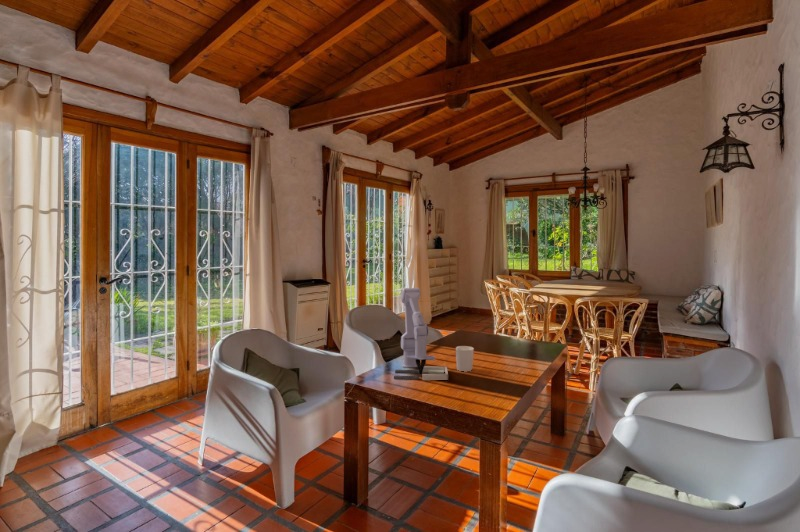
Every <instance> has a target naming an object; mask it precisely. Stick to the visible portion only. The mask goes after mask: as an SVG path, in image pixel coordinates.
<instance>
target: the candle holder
mask: <svg viewBox="0 0 800 532" xmlns="http://www.w3.org/2000/svg"><path fill="white" fill-rule="evenodd" d="M474 351H475V348H474V347H473V346H469V345H468V346H467V345H458V346H455V358H456V359H455V360H456V370H457V371H458V370H459V371H458V372H461V371H464V372H463V373H468V372H467V371H470V372H472V371H473V365H474V364H473V362H474ZM471 370H472V371H471Z"/></svg>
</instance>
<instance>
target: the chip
mask: <svg viewBox="0 0 800 532" xmlns="http://www.w3.org/2000/svg"><path fill="white" fill-rule="evenodd" d="M436 374H445V373H444V370H436Z"/></svg>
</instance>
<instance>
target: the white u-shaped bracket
mask: <svg viewBox="0 0 800 532" xmlns="http://www.w3.org/2000/svg"><path fill="white" fill-rule="evenodd" d="M428 370H444V372H445V373H444V374H428ZM421 376H422V381H430V380H448V381H449V373H448V367H447V366H434V365H433V366H429V365H428V366H426V365H424V368H423V371H422V374H421Z"/></svg>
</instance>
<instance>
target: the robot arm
mask: <svg viewBox="0 0 800 532" xmlns="http://www.w3.org/2000/svg"><path fill="white" fill-rule="evenodd" d="M420 298H421V289H420V288H419V287H409V288H408V287H407V288H406V287H403V288H401V290H400V302H401V303H402V304H403V307H404V321H405V322H404V324H405V326H404V327H405V332H404V333H403V334H402V335H401V336H400V349H402V350H403V361H402V362H403V363H402V368H418V369H417V370H419V373H418V374H419V375H422V374H423V372H422V371H423V368H424V366H426V364H427V363H426V362H427V361H436V356H435V355H427V336H429V327H428V325H427V324H426V322H425V320H424V315H423V313H422V312H421V311H420V304H419V300H420Z"/></svg>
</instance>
